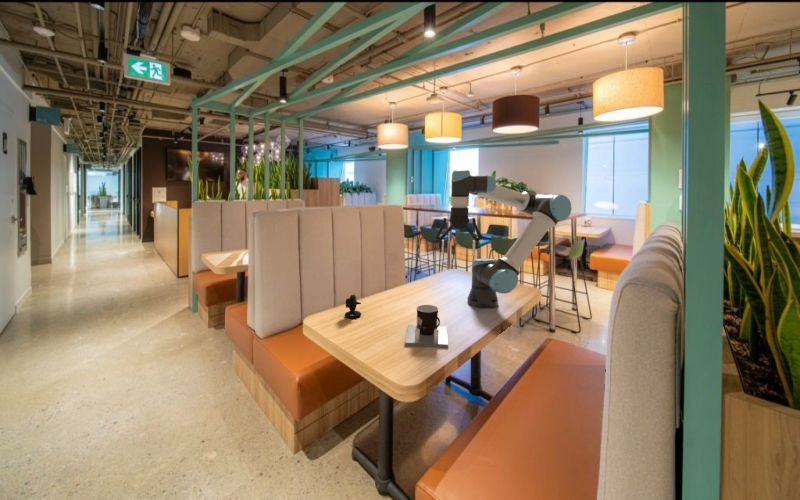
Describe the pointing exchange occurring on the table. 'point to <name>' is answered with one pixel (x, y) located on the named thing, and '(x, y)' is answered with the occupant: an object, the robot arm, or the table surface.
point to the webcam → (352, 307)
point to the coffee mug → (427, 319)
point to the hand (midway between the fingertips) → (457, 255)
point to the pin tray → (426, 337)
